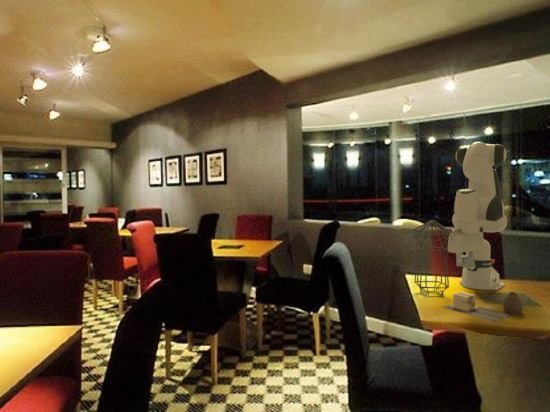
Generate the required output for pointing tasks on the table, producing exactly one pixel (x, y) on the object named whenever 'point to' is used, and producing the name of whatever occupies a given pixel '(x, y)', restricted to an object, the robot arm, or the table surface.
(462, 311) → the board
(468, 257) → the top block
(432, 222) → the geometric lantern
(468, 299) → the block
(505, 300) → the vase
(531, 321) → the table surface
